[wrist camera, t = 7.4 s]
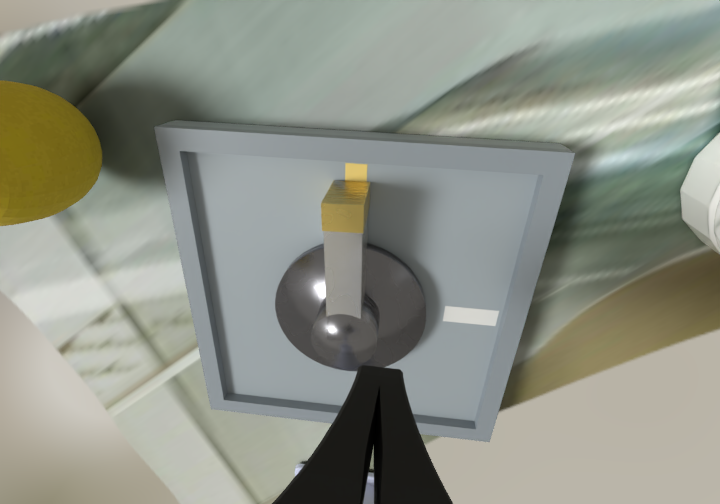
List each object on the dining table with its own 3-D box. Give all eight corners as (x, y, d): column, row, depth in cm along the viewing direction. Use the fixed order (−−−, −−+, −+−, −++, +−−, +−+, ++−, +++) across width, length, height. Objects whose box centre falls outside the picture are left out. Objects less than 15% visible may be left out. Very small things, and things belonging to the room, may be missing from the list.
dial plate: (484, 417, 26) (489, 442, 24) (222, 387, 27) (211, 409, 26) (559, 143, 17) (575, 152, 16) (175, 120, 19) (153, 126, 17)
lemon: (9, 81, 19) (-230, 101, 12) (112, 69, 18) (-77, 82, 11) (60, 190, 21) (-111, 261, 14) (152, 184, 21) (20, 255, 14)
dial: (419, 367, 23) (420, 409, 20) (285, 355, 23) (269, 394, 21) (439, 185, 18) (445, 209, 15) (267, 177, 18) (243, 199, 16)
